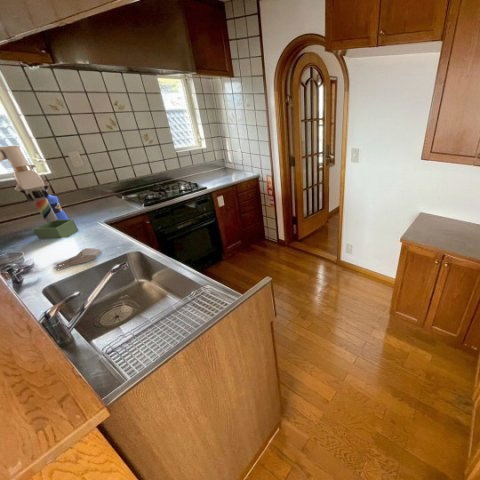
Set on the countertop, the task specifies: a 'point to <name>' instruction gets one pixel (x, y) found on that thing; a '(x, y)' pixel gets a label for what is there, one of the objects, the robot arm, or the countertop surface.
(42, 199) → the lotion bottle
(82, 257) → the tan elongated piece
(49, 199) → the water bottle
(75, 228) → the bin
